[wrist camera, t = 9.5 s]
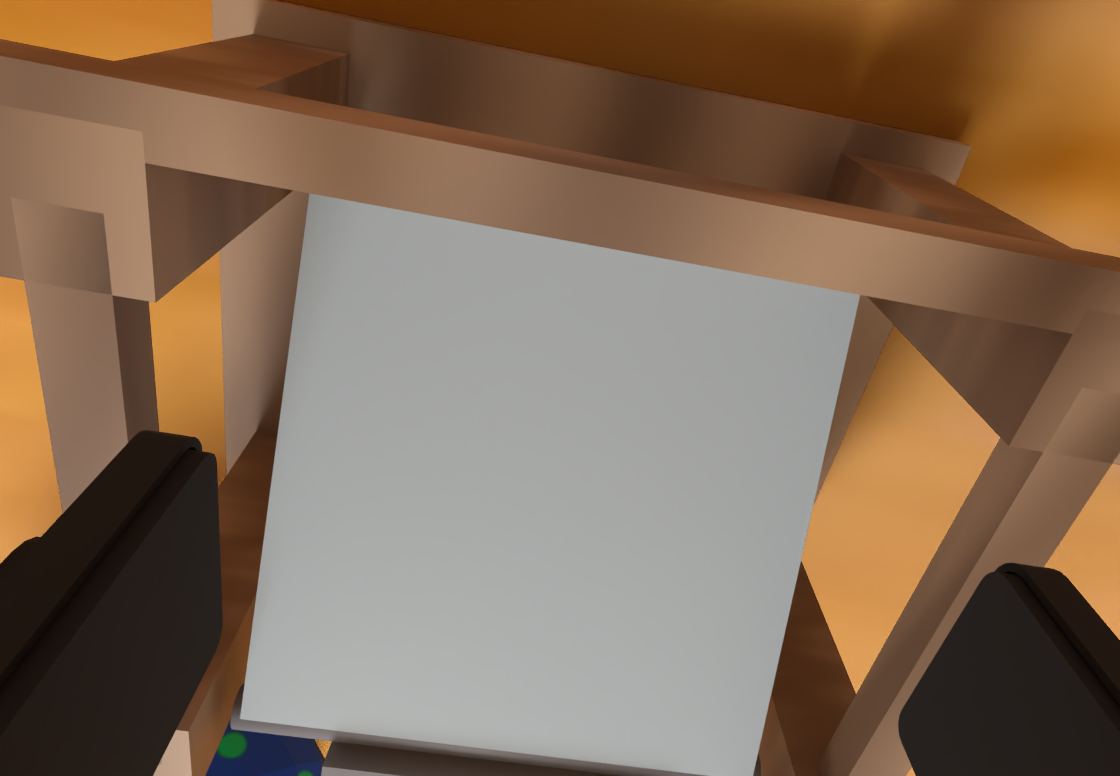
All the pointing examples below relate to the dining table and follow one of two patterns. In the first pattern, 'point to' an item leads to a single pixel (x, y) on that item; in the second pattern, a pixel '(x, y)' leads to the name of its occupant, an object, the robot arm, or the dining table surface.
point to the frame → (556, 212)
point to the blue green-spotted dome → (265, 755)
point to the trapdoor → (534, 502)
